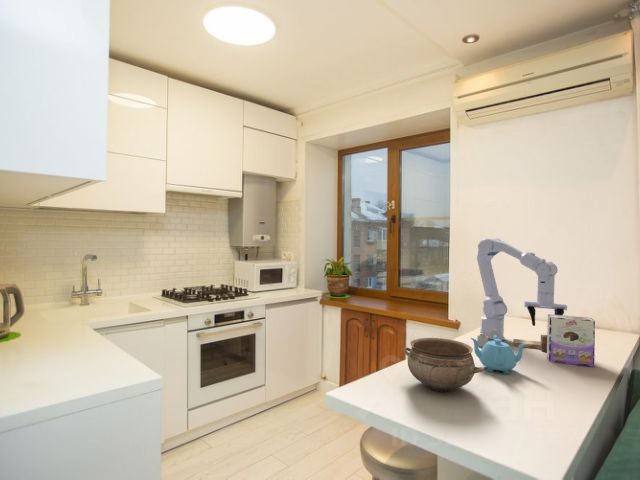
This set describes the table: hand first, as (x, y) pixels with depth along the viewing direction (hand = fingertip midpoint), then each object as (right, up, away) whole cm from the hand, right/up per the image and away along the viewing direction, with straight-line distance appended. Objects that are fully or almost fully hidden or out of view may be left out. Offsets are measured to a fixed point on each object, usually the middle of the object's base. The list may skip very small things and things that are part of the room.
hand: (544, 326), depth 150 cm
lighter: (-22, -9, +2) cm, 24 cm away
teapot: (-30, -9, -23) cm, 39 cm away
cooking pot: (-54, -9, -39) cm, 68 cm away
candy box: (0, -10, -14) cm, 17 cm away
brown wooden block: (+1, -9, +1) cm, 10 cm away
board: (-1, -9, +5) cm, 10 cm away
